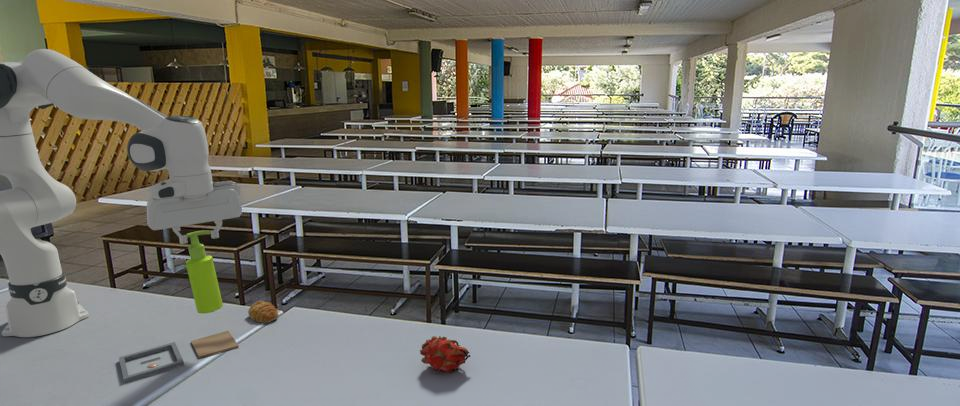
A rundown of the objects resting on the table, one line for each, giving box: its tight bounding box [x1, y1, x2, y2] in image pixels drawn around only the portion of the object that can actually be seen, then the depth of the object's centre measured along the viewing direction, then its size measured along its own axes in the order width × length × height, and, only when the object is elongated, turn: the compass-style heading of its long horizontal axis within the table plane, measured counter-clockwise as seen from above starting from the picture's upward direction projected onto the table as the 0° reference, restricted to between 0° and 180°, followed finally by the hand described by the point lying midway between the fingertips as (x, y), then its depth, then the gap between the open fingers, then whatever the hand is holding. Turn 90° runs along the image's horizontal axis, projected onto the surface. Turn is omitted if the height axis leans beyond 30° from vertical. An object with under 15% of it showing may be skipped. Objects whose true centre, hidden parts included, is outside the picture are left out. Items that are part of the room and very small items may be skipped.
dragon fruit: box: [419, 335, 471, 374], centre depth 123 cm, size 8×8×12 cm
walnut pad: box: [190, 330, 239, 359], centre depth 136 cm, size 10×9×1 cm
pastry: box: [247, 300, 279, 324], centre depth 151 cm, size 9×7×4 cm
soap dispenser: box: [185, 229, 224, 314], centre depth 131 cm, size 6×7×20 cm
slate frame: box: [118, 341, 185, 384], centre depth 127 cm, size 12×12×1 cm
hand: (199, 240), depth 129 cm, fingers closed on soap dispenser, 5 cm apart
